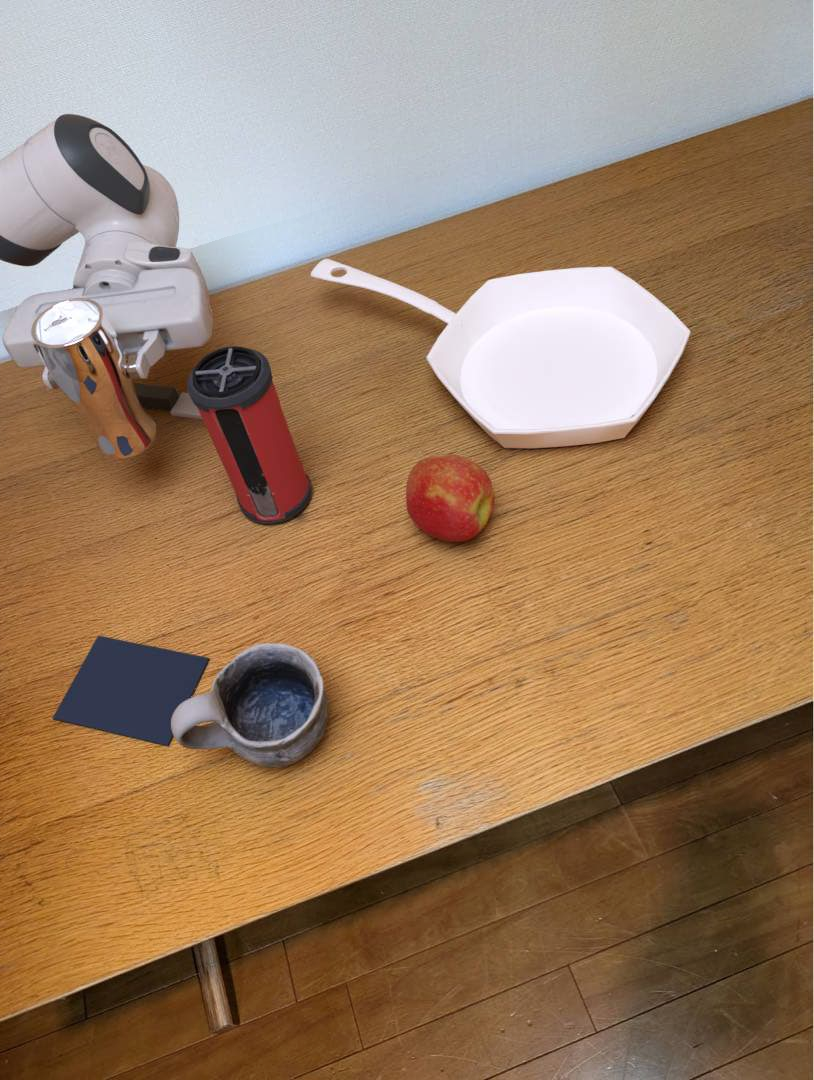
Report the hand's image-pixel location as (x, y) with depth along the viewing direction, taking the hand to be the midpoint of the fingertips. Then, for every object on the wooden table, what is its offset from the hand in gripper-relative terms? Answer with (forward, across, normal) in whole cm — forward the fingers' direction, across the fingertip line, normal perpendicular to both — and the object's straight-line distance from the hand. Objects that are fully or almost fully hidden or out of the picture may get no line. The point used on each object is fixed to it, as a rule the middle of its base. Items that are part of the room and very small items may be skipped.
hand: (94, 379), depth 92 cm
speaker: (+2, +13, +17) cm, 22 cm away
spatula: (-14, -2, +17) cm, 22 cm away
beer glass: (-1, 0, +9) cm, 9 cm away
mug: (+30, +15, +17) cm, 38 cm away
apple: (+8, +32, +17) cm, 37 cm away
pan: (-16, +36, +17) cm, 43 cm away
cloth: (+24, +2, +17) cm, 29 cm away
